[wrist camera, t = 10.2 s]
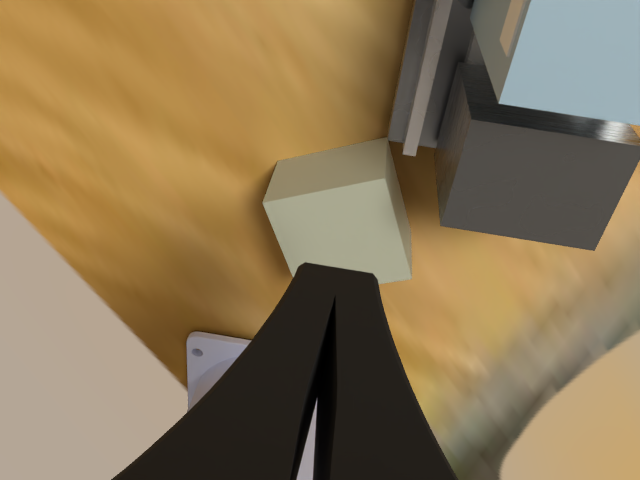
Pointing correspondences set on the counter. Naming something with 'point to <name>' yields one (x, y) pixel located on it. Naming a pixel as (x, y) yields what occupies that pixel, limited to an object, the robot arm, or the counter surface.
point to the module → (563, 55)
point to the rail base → (503, 142)
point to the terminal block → (342, 211)
